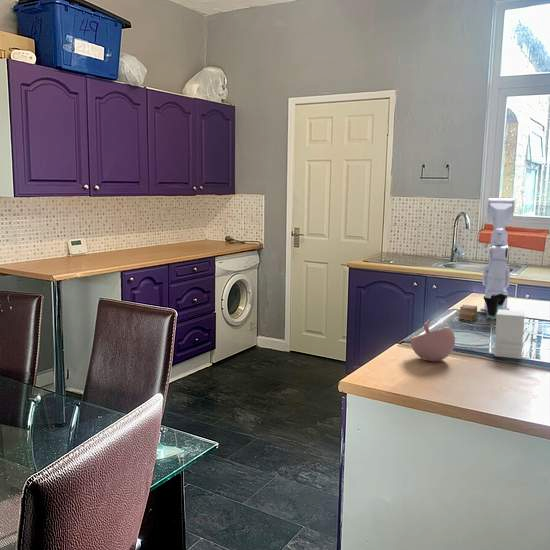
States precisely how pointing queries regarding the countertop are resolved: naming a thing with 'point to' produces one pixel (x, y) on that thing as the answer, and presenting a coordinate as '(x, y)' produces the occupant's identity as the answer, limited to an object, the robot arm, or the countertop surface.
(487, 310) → the teal block
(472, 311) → the tower top
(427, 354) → the pink apple
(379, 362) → the countertop surface
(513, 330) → the supplement box
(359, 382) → the countertop surface
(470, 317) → the tower base
